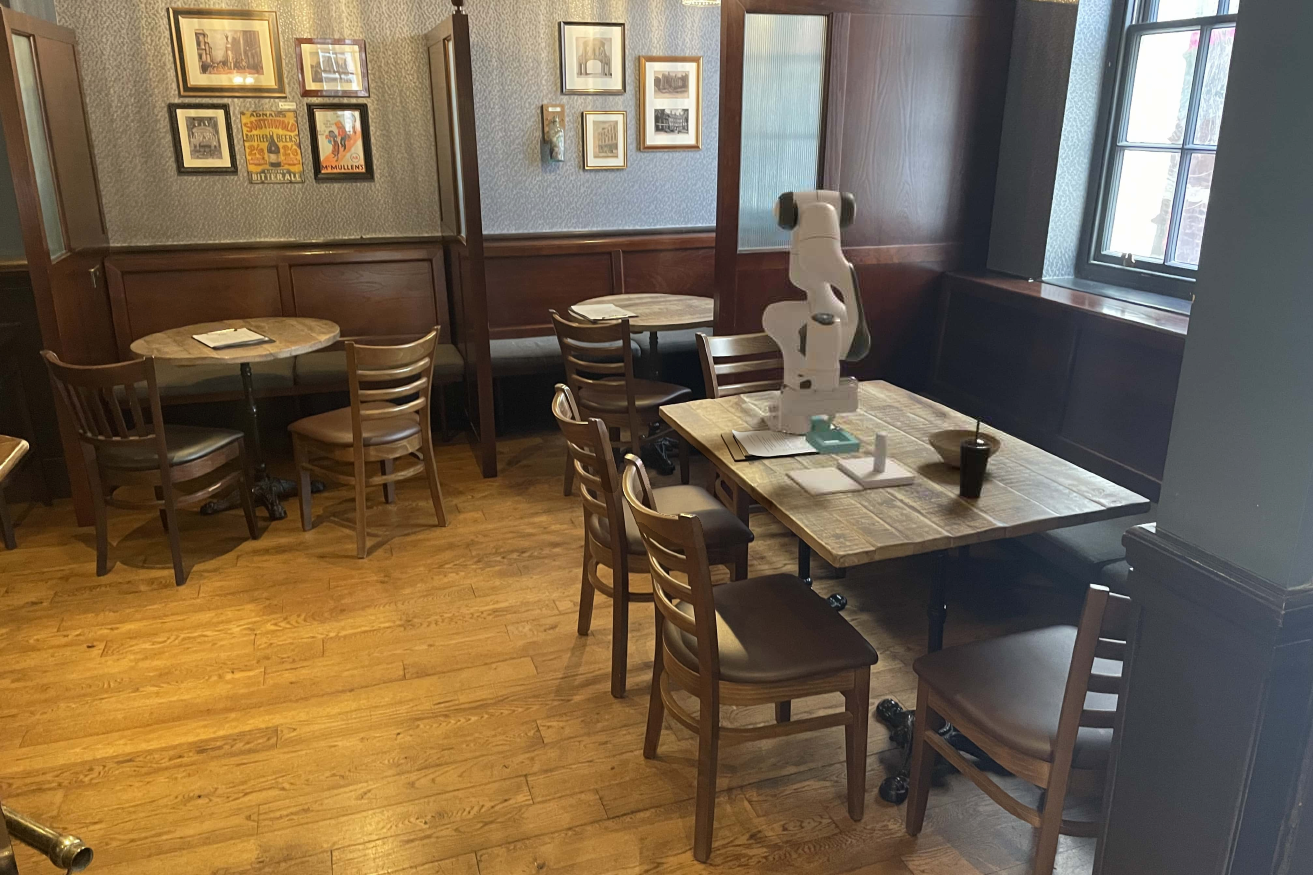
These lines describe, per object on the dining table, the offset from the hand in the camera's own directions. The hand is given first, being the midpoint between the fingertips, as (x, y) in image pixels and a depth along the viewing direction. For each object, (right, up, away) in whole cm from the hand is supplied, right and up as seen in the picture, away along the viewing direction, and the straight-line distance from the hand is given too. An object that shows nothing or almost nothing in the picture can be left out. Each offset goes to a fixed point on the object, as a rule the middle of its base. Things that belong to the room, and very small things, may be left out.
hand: (818, 430), depth 237 cm
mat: (+1, -13, -1) cm, 13 cm away
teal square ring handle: (+1, -3, -4) cm, 5 cm away
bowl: (+41, -10, +11) cm, 43 cm away
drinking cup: (+36, -16, -9) cm, 41 cm away
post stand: (+15, -12, +4) cm, 20 cm away
